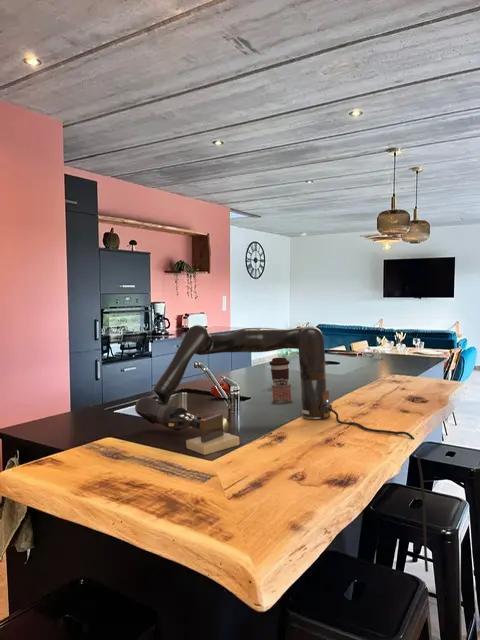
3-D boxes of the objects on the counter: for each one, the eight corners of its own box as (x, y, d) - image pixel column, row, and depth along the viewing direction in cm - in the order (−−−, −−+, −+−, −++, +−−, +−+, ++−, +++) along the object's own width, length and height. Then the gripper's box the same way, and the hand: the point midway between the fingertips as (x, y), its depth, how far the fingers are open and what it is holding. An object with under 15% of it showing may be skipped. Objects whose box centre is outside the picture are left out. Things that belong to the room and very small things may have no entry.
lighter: (291, 400, 209) (290, 377, 209) (291, 402, 205) (290, 379, 205) (272, 401, 210) (271, 378, 209) (272, 403, 206) (271, 380, 206)
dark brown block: (219, 434, 153) (218, 413, 152) (223, 434, 152) (222, 413, 151) (200, 441, 146) (199, 419, 145) (204, 442, 145) (203, 420, 144)
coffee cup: (283, 390, 234) (281, 359, 234) (267, 389, 241) (265, 359, 241) (294, 386, 242) (293, 357, 241) (279, 385, 248) (277, 356, 248)
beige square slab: (218, 438, 158) (217, 429, 158) (243, 445, 148) (242, 437, 147) (183, 447, 150) (182, 438, 150) (207, 456, 139) (206, 447, 139)
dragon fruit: (211, 400, 228) (232, 405, 222) (203, 393, 222) (225, 398, 216) (218, 384, 232) (239, 389, 226) (210, 376, 225) (232, 381, 219)
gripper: (153, 409, 156) (181, 417, 142) (188, 402, 164) (218, 408, 150) (155, 432, 156) (182, 442, 142) (190, 423, 164) (219, 432, 150)
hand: (200, 425), depth 146 cm, fingers closed
